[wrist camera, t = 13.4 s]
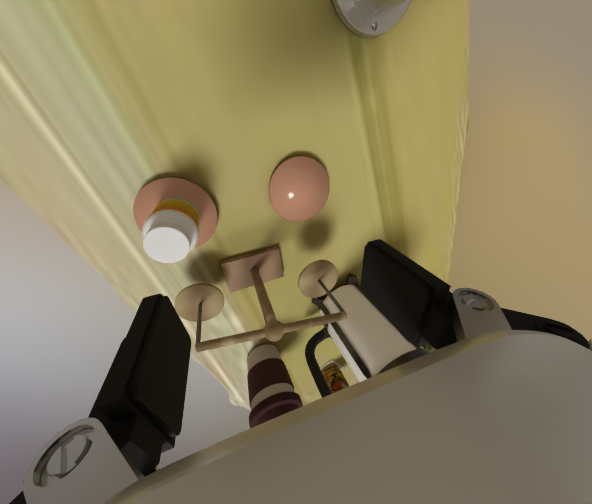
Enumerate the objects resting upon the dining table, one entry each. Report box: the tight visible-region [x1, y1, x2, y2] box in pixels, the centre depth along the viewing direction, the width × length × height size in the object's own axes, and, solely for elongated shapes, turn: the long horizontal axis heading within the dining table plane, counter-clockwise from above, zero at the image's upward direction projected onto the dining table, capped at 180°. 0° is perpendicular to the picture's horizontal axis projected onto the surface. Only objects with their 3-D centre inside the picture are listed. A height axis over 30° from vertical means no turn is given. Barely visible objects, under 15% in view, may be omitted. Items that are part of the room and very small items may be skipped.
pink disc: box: [269, 156, 329, 222], centre depth 33 cm, size 10×10×1 cm
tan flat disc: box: [133, 177, 217, 248], centre depth 29 cm, size 10×10×1 cm
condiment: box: [320, 360, 349, 394], centre depth 58 cm, size 7×8×12 cm
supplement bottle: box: [142, 197, 201, 263], centre depth 24 cm, size 5×5×10 cm
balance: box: [175, 246, 347, 352], centre depth 30 cm, size 24×7×17 cm, turn 97°
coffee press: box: [305, 274, 430, 398], centre depth 37 cm, size 17×16×30 cm
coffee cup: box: [247, 344, 303, 429], centre depth 43 cm, size 10×10×15 cm
